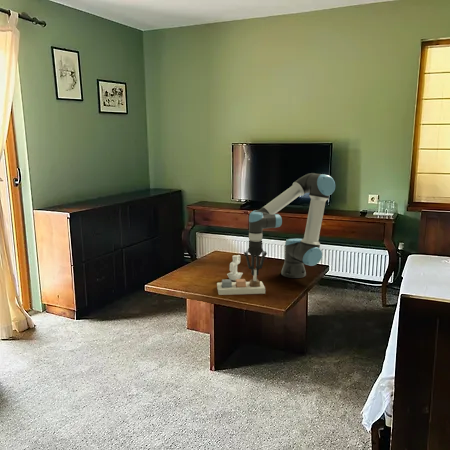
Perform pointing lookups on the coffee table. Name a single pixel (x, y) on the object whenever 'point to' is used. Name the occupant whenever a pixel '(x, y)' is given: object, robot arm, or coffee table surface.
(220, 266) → the coffee table surface
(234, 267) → the figurine
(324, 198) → the robot arm
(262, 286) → the key block
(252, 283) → the walnut key
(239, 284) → the terracotta key
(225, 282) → the slate key
